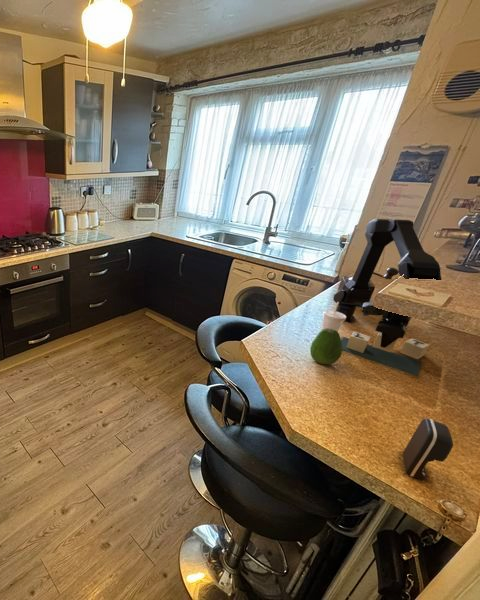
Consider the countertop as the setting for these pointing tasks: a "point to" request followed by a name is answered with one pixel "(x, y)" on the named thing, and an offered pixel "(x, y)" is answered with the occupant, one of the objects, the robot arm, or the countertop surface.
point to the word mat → (385, 358)
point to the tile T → (414, 348)
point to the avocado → (326, 347)
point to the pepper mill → (388, 275)
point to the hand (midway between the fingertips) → (383, 344)
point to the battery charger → (426, 447)
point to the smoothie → (333, 319)
